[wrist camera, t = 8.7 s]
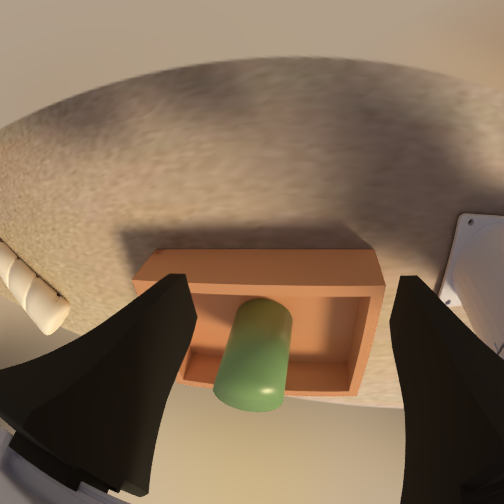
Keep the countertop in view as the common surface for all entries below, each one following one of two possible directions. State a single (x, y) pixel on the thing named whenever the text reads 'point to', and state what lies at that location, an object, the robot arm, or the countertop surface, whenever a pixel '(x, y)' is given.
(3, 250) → the unicorn horn
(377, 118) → the countertop surface
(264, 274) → the terracotta bin
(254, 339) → the cucumber piece
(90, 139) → the countertop surface
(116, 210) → the countertop surface
